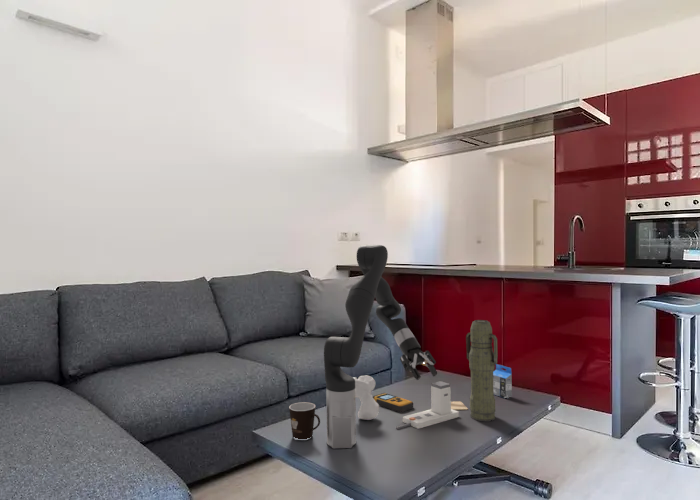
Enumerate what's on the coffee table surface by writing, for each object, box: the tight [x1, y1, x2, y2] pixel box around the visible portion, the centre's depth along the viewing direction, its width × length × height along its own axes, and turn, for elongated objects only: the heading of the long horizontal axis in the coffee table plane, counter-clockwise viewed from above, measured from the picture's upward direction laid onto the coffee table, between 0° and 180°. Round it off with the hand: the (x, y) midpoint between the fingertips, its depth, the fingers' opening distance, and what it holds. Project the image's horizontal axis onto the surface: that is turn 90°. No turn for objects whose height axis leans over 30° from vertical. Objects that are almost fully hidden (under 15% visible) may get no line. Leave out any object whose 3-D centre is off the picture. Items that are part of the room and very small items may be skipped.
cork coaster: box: [451, 400, 469, 411], centre depth 175 cm, size 9×9×1 cm
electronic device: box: [372, 392, 414, 413], centre depth 176 cm, size 8×16×3 cm, turn 41°
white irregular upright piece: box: [352, 374, 380, 421], centre depth 162 cm, size 10×11×15 cm
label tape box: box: [493, 363, 513, 399], centre depth 188 cm, size 9×4×12 cm, turn 28°
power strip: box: [395, 408, 460, 430], centre depth 159 cm, size 8×26×2 cm, turn 124°
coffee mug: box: [288, 401, 321, 439], centre depth 145 cm, size 12×9×10 cm
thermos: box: [465, 319, 499, 422], centre depth 163 cm, size 9×12×35 cm
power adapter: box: [430, 380, 452, 416], centre depth 164 cm, size 5×5×12 cm
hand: (427, 376), depth 170 cm, fingers open, 8 cm apart
